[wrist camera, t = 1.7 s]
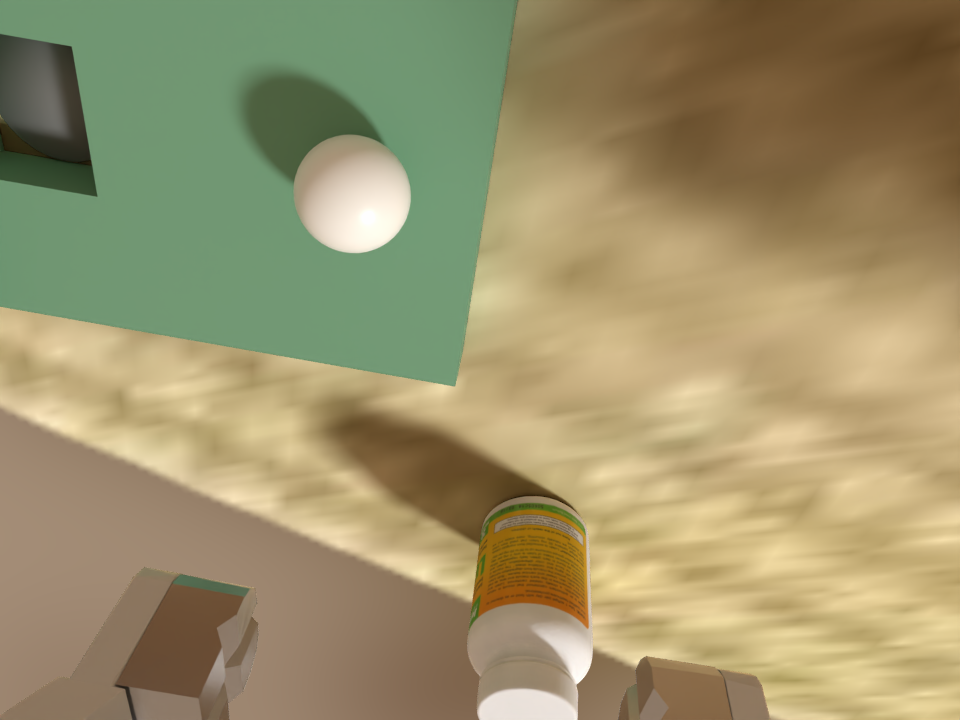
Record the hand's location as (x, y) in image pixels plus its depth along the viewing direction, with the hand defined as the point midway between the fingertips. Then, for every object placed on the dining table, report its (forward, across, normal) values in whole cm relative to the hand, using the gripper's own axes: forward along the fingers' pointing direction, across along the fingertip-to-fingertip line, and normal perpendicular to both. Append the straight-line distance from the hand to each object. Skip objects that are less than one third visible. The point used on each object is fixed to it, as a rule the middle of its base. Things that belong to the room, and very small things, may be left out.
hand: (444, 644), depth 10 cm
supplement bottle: (+19, -4, +18) cm, 27 cm away
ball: (+15, +5, 0) cm, 16 cm away
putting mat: (+19, +11, 0) cm, 22 cm away
